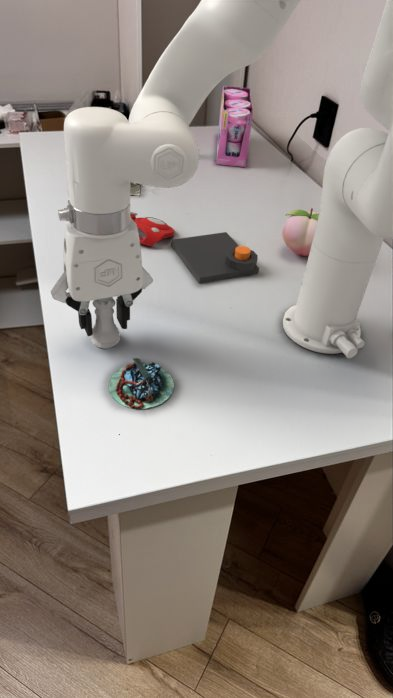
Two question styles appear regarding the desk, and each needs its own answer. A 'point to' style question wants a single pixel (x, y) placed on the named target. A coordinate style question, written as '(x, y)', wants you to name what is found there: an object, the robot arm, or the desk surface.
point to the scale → (213, 257)
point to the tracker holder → (152, 229)
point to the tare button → (242, 253)
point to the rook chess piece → (104, 324)
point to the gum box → (234, 126)
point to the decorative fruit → (300, 230)
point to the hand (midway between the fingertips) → (104, 326)
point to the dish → (141, 385)
